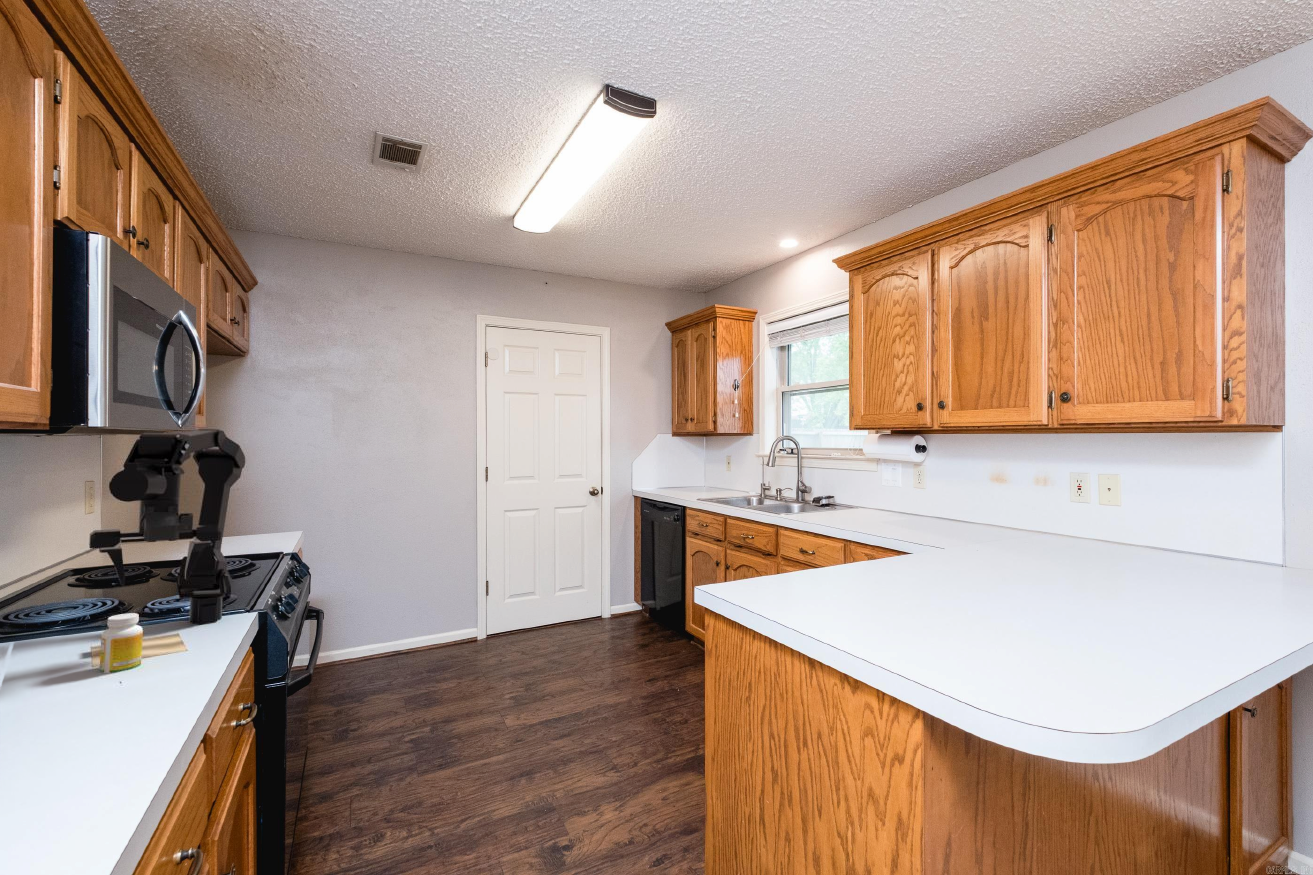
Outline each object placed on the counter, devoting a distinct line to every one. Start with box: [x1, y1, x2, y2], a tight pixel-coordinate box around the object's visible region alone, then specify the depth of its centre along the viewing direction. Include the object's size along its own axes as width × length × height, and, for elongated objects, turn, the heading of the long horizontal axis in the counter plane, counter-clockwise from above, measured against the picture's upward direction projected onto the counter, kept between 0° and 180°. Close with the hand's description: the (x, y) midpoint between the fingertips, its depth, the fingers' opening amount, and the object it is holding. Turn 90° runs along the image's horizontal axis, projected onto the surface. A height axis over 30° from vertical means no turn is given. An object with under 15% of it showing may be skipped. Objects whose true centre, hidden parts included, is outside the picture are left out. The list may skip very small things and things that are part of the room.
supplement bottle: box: [99, 612, 144, 674], centre depth 103 cm, size 5×5×10 cm
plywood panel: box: [90, 633, 188, 668], centre depth 112 cm, size 14×13×1 cm
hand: (155, 581), depth 111 cm, fingers open, 9 cm apart
